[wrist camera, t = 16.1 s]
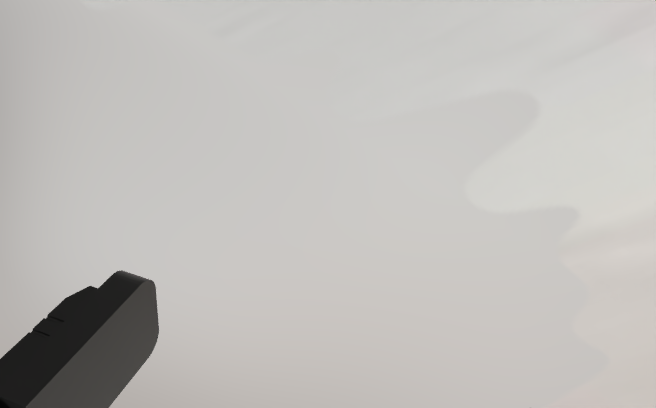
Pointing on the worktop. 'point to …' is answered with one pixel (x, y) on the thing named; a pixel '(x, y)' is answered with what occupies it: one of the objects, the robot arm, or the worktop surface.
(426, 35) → the worktop surface
